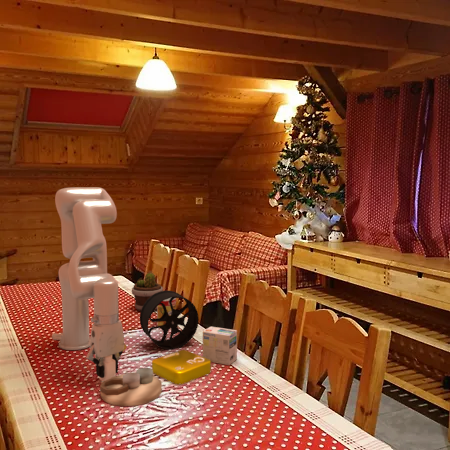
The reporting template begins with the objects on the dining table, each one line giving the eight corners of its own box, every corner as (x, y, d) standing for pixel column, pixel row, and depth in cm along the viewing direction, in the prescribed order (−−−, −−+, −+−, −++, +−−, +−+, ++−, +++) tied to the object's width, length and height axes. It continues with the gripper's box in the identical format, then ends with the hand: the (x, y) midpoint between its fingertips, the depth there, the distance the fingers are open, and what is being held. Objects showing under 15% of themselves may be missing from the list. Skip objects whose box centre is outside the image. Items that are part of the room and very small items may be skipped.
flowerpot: (127, 307, 239) (127, 266, 237) (158, 303, 245) (158, 264, 243) (135, 315, 226) (135, 272, 224) (167, 311, 232) (167, 269, 230)
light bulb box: (237, 359, 176) (237, 329, 175) (229, 366, 170) (230, 335, 169) (210, 354, 180) (210, 325, 179) (201, 360, 174) (202, 330, 173)
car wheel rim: (147, 353, 181) (147, 299, 178) (139, 344, 190) (139, 293, 187) (198, 345, 189) (198, 293, 187) (188, 336, 198) (188, 287, 196)
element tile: (183, 360, 175) (183, 347, 175) (213, 373, 165) (213, 359, 164) (149, 372, 164) (149, 358, 164) (178, 387, 154) (178, 372, 154)
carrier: (94, 406, 140) (94, 389, 140) (107, 379, 158) (107, 364, 158) (158, 406, 141) (158, 389, 140) (164, 379, 159) (164, 364, 158)
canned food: (174, 328, 208) (174, 300, 207) (155, 328, 208) (155, 300, 207) (176, 322, 216) (176, 295, 215) (158, 322, 216) (158, 295, 215)
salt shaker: (107, 383, 155) (106, 353, 154) (98, 380, 157) (97, 351, 156) (116, 378, 159) (116, 349, 158) (107, 375, 161) (107, 347, 160)
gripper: (89, 327, 147) (90, 386, 149) (135, 315, 159) (136, 369, 161) (75, 321, 152) (77, 378, 154) (121, 310, 164) (122, 363, 167)
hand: (107, 373), depth 158 cm, fingers closed on salt shaker, 4 cm apart
